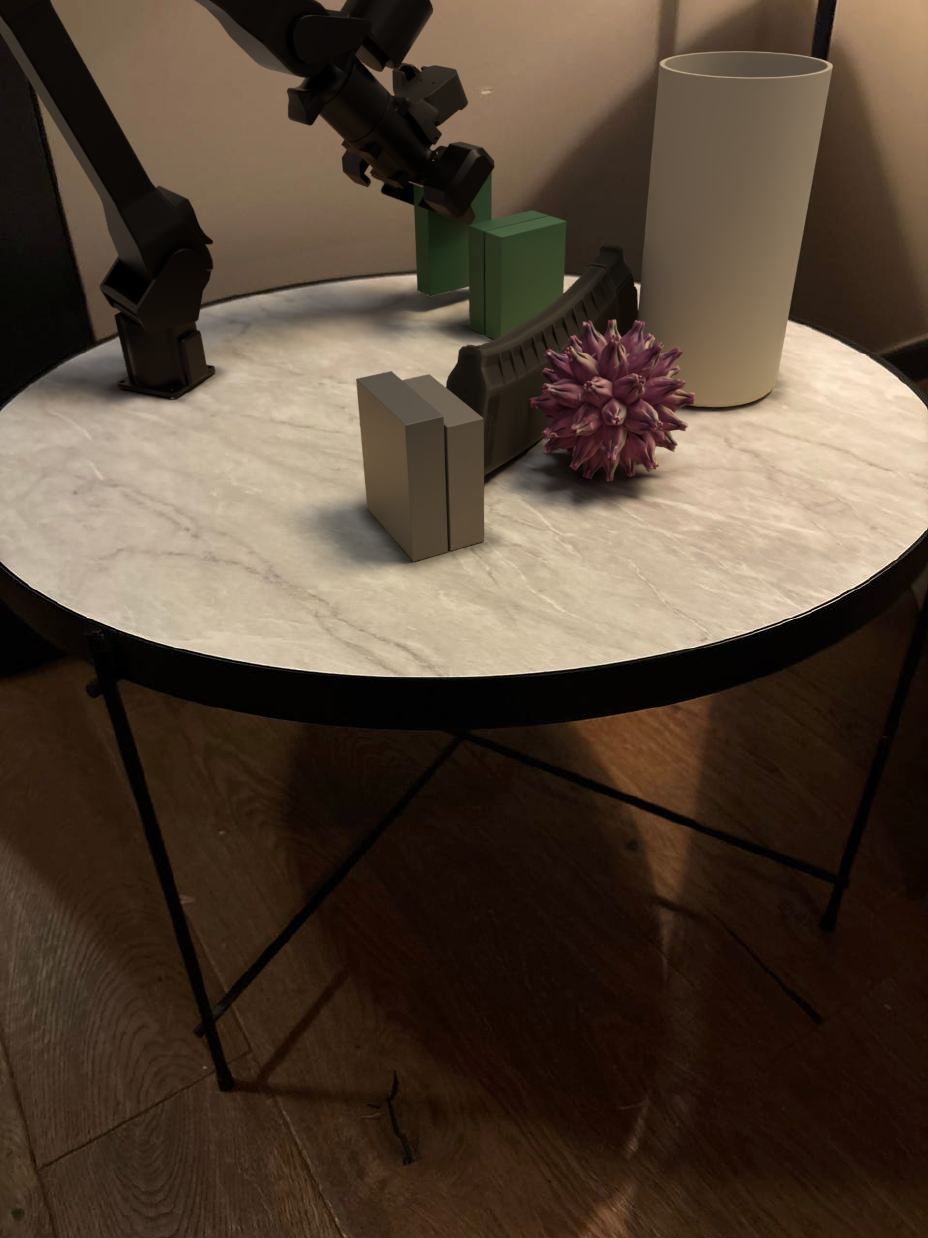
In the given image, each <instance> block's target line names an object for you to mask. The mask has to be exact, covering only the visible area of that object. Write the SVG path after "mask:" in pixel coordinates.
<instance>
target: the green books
mask: <svg viewBox="0 0 928 1238" xmlns="http://www.w3.org/2000/svg"><path fill="white" fill-rule="evenodd" d="M566 237H567V220H564V219H561V218H559V217H555V216H553V215H548V214H545V213H542V212H539V211H537V210H534V209H533V210H531V209H530V210H528V211H524V212H518V213H515V214H510V215H506V216H502V217H499V218H493V219H492V220H489V221H485V222H480V223H476V224H472V225H468V258H469V287H468V312H469V313H468V314H469V315H468V316H469V318H468V319H469V323H468V324H469V329H471V330H472V331H475V332H476V333H479V334H481V335H483V336H486V337H487V338H490V339H492V340H495V339H497V338H499V337H501V336H503V335H505V334H507V333H508V332H510V331H511V330H513V329H514V328H516V327H518V326H519V325H521V324H523V323H525V322H526V321H528V320H529V319H531V318H533V317H534V316H536V315H537V314H539V313H540V312H541V311H543V310H544V309H546V308H547V307H548V306H549V305H550V304H552V303H553V302H554V301H555V300H556V299H557V298H559V297H560V296H561V295H562V294H563V293H564V287H565V285H564V284H565V261H566V239H567V238H566Z"/></svg>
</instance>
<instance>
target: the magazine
mask: <svg viewBox="0 0 928 1238" xmlns="http://www.w3.org/2000/svg"><path fill="white" fill-rule="evenodd" d="M632 271H633V270H632V269H631V268H630V266H628V264H627V263H626V259H625V255H624V248H623V247H622V245H620V244H617V243H616V244H614V243H608V242H604V243H603V244H602V245H601V247H600V248H599V252H598V255H597V257H596V258H595V259H593V260H592V261H591V262H590V263H589V264H588V265H587V268H586V270H585V271H584V272H582V274H581V275H580V276H579V277H578V278H577V279H576V280H575V281H574V282H573V283H572V284H571V285H570V287H568V288H567V289H566V290H565V291H563V294H562V295H561V296H560V297H559V298H557V299H556V300H555V301H554V302H553V303H552V304H550V305H549V306H548V307H547V308H546V309H544V310H543V311H541V312H540V313H539V314H537V315H536V316H534V317H533V318H531V319H529V320H528V321H526V322H525V323H523V324H521V325H519V326H518V327H516V328H514V329H513V330H511V331H510V332H508V333H507V334H505V335H503V336H501V337H499V338H497V339H495V340H494V339H492V340H490V341H487V342H485V343H482V344H478V345H474V344H466V345H464V346H462V347H460V348H459V350H458V353H457V354H458V355H457V361H456V364H455V365H454V367H453V368H452V370H451V371H450V373H449V374H448V376H447V380H446V382H445V383H446V385H445V387H446V388H447V389H448V390H449V391H451V392H452V393H453V394H454V395H455V396H457V397H458V398H459V399H460V400H462V401H463V402H464V403H465V404H466V405H468V406H469V407H470V408H471V409H473V410H474V411H475V412H476V413H477V414H479V415H480V416H481V417H482V418H483V425H484V477H485V476H487V475H488V474H490V473H491V472H492V471H494V470H496V469H498V468H499V467H501V466H503V465H505V464H506V463H508V462H509V461H511V460H512V459H514V458H515V457H517V456H519V455H520V454H522V453H523V452H525V451H526V450H528V449H529V448H530V447H532V446H533V445H534V444H537V442H538V441H540V440H542V438H544V437H543V433H542V431H544V430H545V429H547V428H548V427H549V426H550V425H551V423H552V421H553V419H554V418H546V416H545V412H543V411H542V410H540V409H537V408H531V407H530V406H531V404H530V403H531V402H530V401H529V399H530V398H535V397H539V396H541V395H542V394H544V392H543V388H542V387H543V386H544V384H552V383H551V382H550V381H549V379H547V378H546V377H544V376H542V371H543V370H544V368H547V369H550V370H553V368H552V366H551V363H550V362H549V361H548V360H547V359H546V358H545V356H544V355H543V354H544V353H546V351H547V350H548V349H550V350H552V351H554V352H555V353H559V354H566V353H565V351H566V349H567V348H568V347H570V343H569V341H568V339H570V337H571V336H574V335H575V336H576V337H577V338H578V340H579V341H581V342H582V341H583V335H584V331H583V322H587V323H588V321H591V322H592V324H593V327H594V329H595V330H596V331H597V332H598V333H600V334H601V335H602V336H604V334H605V332H606V330H607V327H608V321H609V320H610V321H611V320H614V319H615V320H616V326H617V331H618V333H619V335H620V336H621V338H622V337H623V336H624V335H625V334H627V332H628V331H629V330H630V329H631V328H632V326H633V324H634V322H635V320H637V319H638V307H639V296H638V295H639V294H638V289H637V286H635V281H634V276H633V274H632Z"/></svg>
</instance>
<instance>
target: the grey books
mask: <svg viewBox="0 0 928 1238" xmlns="http://www.w3.org/2000/svg"><path fill="white" fill-rule="evenodd" d="M355 383H356V393H357V395H356V396H357V405H358V416H359V417H358V418H359V428H360V441H361V451H362V463H363V474H364V487H365V498H366V509H367V510H368V511H369V513H371V515H372V516H373V517H374V518H375V520H377V522H378V523H379V524H380V525H381V527H382V528H383V529H384V530H385V531H386V532H387V533H388V534H389V536H390V537H391V538H392V539H393V540H394V541H395V542H396V544H397V545H398V546H399V547H400V548H401V550H402V551H403V552H404V553H405V554H406V555H407V557H408V558H409V559H410V560H411V561H412V562H413V563H414V562H418V561H421V560H424V559H428V558H431V557H436V556H439V555H441V554H445V553H448V552H449V551H456V550H459V549H462V548H466V547H469V546H473V545H477V544H479V543H483V542H485V476H484V425H483V418H482V417H481V416H480V415H479V414H477V413H476V412H475V411H474V410H473V409H471V408H470V407H469V406H468V405H466V404H465V403H464V402H463V401H462V400H460V399H459V398H458V397H457V396H455V395H454V394H453V393H452V392H451V391H449V390H448V389H447V388H446V386H444V385H443V384H442V383H441V382H439V381H438V380H437V379H436V378H435V377H434V376H432V375H431V374H430V373H428V374H424V375H419V376H415V377H410V378H406V379H405V378H404V379H401V378H400V377H399V376H398V375H397V374H396V373H394V372H393V371H391V370H390V371H386V372H385V371H384V372H381V373H376V374H372V375H368V376H367V375H366V376H363V377H362V376H361V377H358V378H356V379H355Z"/></svg>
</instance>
